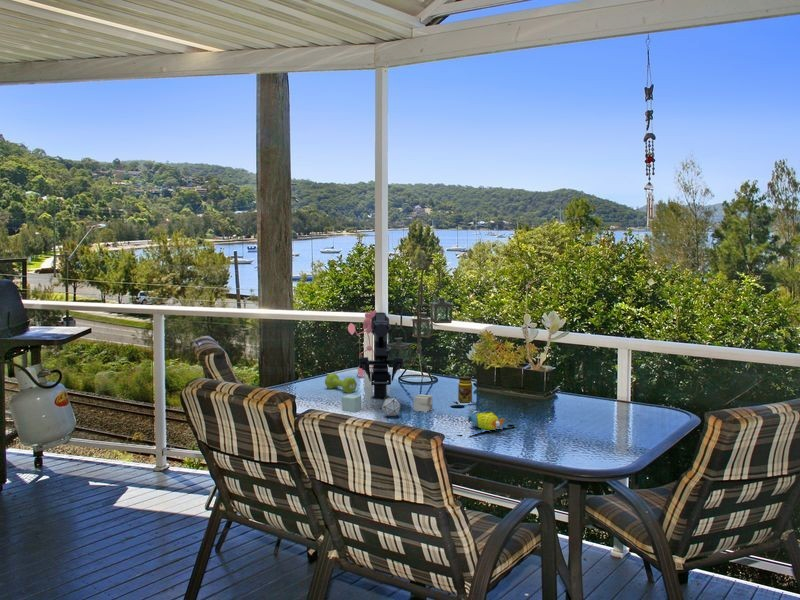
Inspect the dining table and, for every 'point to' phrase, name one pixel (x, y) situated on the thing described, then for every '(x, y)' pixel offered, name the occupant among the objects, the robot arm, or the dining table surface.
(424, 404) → the birch block
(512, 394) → the dining table surface
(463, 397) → the condiment
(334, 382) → the dumbbell
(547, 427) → the dining table surface
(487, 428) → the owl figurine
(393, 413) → the game die
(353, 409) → the sage block
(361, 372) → the pink tall part
